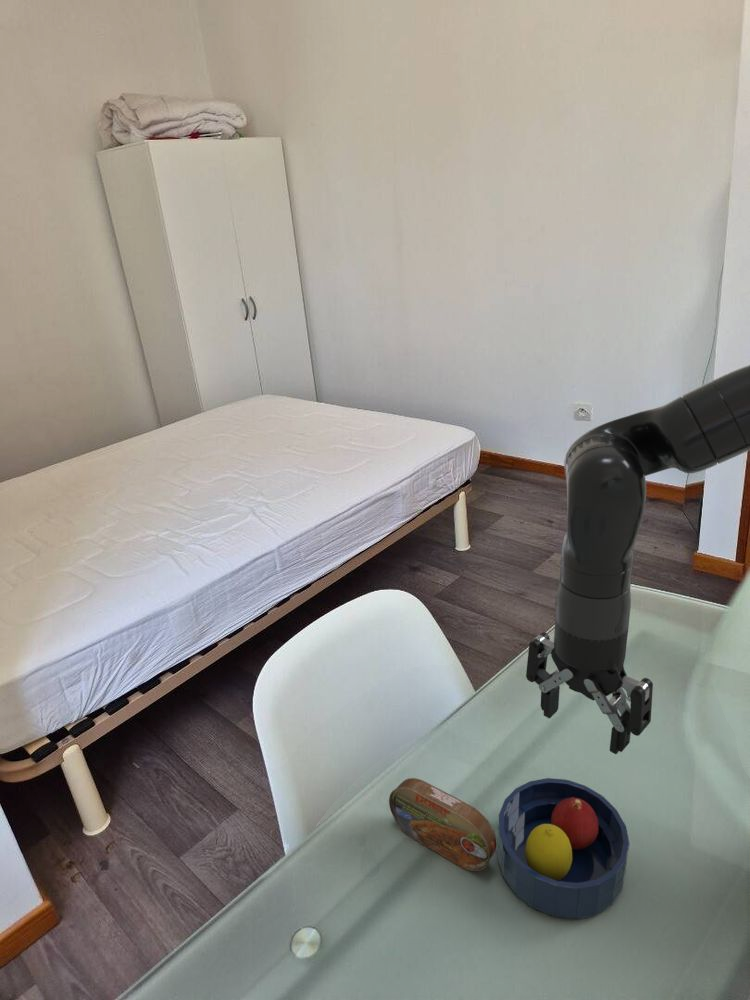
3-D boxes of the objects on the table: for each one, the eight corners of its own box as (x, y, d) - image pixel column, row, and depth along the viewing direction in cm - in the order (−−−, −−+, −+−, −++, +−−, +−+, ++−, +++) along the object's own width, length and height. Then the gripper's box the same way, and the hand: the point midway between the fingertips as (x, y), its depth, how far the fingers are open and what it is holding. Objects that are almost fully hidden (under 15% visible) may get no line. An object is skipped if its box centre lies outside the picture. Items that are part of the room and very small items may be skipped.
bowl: (646, 857, 87) (651, 825, 84) (582, 949, 77) (586, 915, 75) (540, 791, 97) (542, 759, 94) (473, 864, 87) (473, 832, 85)
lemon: (579, 878, 84) (584, 834, 81) (548, 905, 81) (551, 860, 78) (545, 846, 88) (548, 803, 85) (514, 870, 86) (516, 826, 82)
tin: (389, 824, 93) (385, 780, 90) (402, 808, 96) (399, 764, 92) (487, 884, 85) (488, 837, 81) (499, 864, 87) (500, 818, 83)
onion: (543, 827, 91) (546, 783, 87) (585, 821, 91) (590, 777, 88) (558, 866, 86) (562, 822, 82) (603, 860, 86) (609, 815, 83)
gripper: (673, 625, 71) (656, 742, 78) (552, 578, 80) (547, 687, 87) (639, 661, 66) (624, 782, 73) (515, 607, 76) (512, 719, 83)
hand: (582, 730), depth 80 cm, fingers open, 8 cm apart
